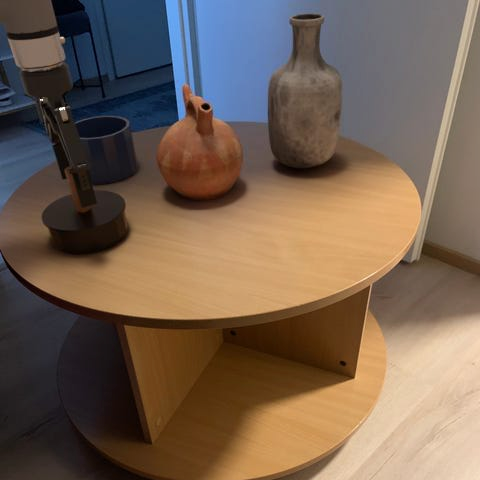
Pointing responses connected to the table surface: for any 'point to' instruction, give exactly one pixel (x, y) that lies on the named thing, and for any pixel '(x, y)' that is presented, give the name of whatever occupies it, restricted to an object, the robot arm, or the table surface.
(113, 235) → the pan
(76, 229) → the lid
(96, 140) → the pot
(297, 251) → the table surface
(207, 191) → the jug
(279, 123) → the vase
